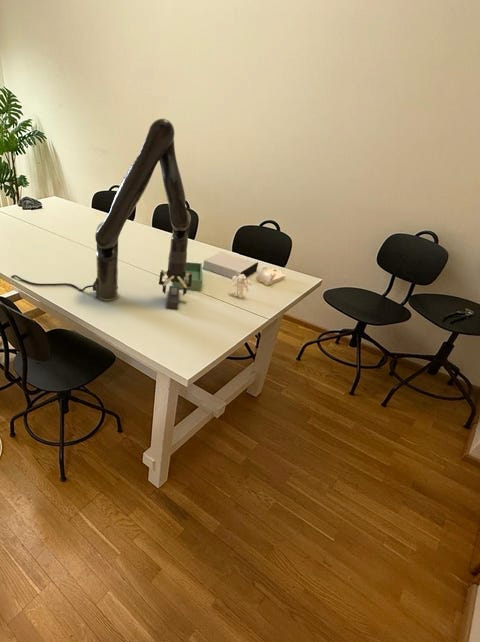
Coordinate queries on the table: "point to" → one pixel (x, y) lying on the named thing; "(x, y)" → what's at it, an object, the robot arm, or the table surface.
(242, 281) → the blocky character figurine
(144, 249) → the table surface
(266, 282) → the cream lumpy rounded piece
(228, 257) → the disc drive
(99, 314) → the table surface
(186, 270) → the bin
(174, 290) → the block
